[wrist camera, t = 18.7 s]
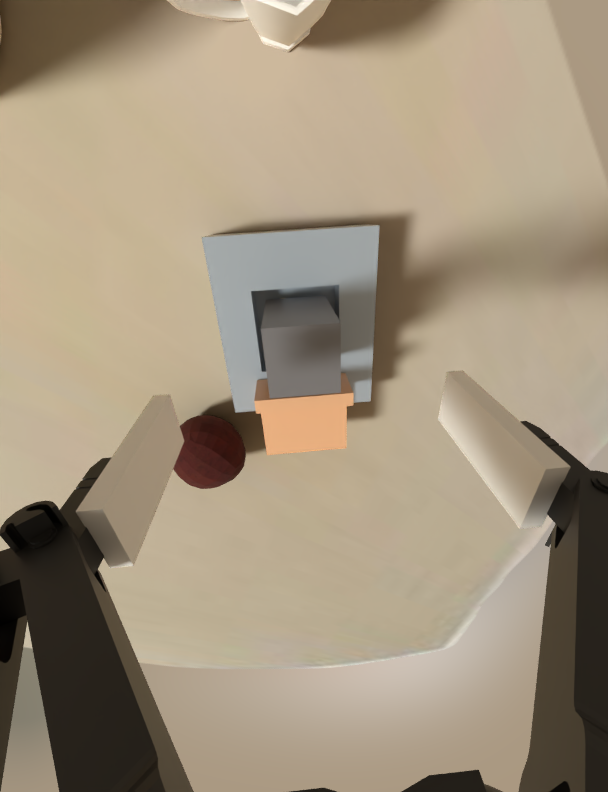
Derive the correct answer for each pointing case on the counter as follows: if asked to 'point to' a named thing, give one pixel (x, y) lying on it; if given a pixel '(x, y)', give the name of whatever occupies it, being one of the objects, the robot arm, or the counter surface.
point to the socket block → (293, 295)
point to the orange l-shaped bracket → (304, 419)
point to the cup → (263, 16)
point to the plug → (301, 347)
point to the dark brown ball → (209, 452)
